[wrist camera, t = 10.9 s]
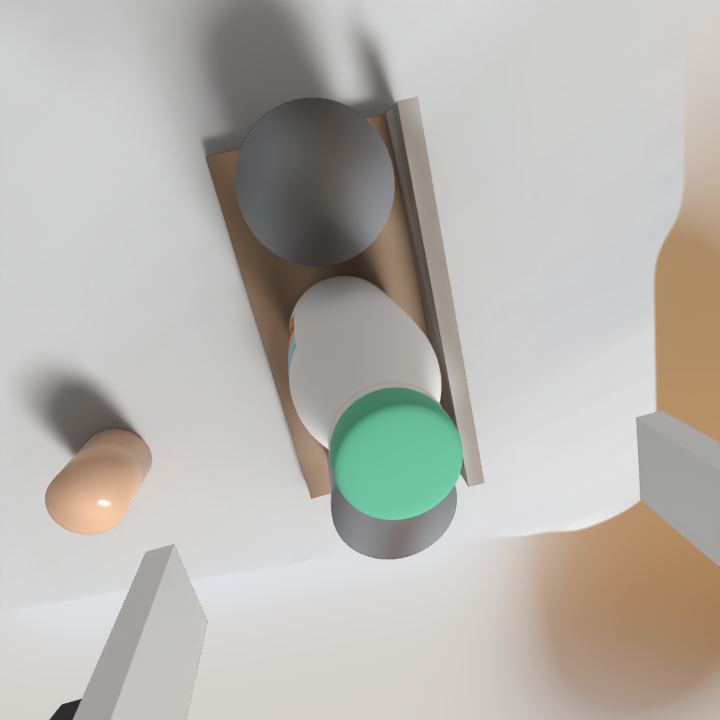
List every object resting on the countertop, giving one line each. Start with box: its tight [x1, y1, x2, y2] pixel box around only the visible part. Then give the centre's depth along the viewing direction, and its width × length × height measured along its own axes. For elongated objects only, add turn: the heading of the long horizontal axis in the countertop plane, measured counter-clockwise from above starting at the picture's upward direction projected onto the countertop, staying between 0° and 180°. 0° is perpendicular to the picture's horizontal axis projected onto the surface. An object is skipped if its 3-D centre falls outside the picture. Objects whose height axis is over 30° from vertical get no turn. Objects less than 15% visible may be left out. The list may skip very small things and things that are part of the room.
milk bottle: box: [288, 276, 463, 520], centre depth 26 cm, size 8×8×20 cm
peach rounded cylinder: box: [45, 429, 152, 535], centre depth 35 cm, size 5×5×6 cm
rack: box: [206, 97, 484, 559], centre depth 32 cm, size 13×27×10 cm, turn 13°
